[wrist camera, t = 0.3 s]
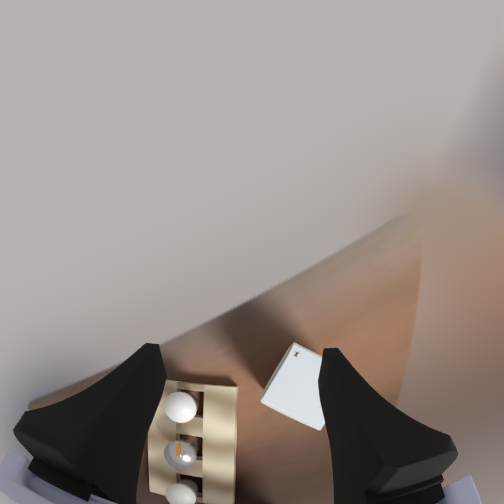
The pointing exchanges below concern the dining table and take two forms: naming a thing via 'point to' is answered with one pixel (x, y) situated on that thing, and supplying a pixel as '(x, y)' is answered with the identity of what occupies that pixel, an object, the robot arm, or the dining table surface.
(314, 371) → the supplement box
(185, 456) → the dial
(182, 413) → the knob
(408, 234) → the dining table surface
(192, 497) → the knob
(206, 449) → the board
